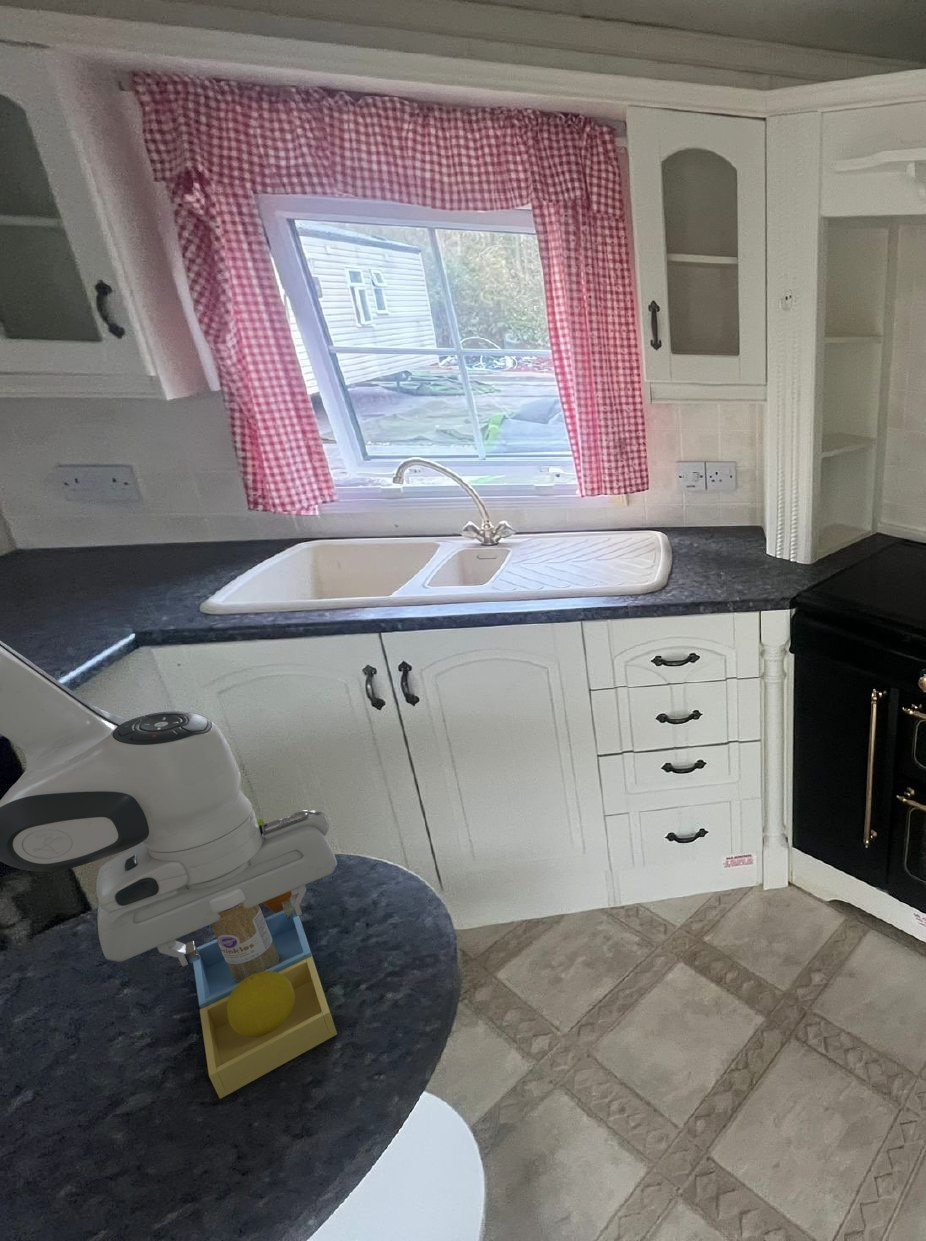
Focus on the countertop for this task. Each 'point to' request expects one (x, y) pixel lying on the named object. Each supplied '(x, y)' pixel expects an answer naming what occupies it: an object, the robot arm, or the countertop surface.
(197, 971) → the blue bin
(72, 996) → the countertop surface
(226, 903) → the sprinkles bottle
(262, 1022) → the lemon
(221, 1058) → the yellow bin
